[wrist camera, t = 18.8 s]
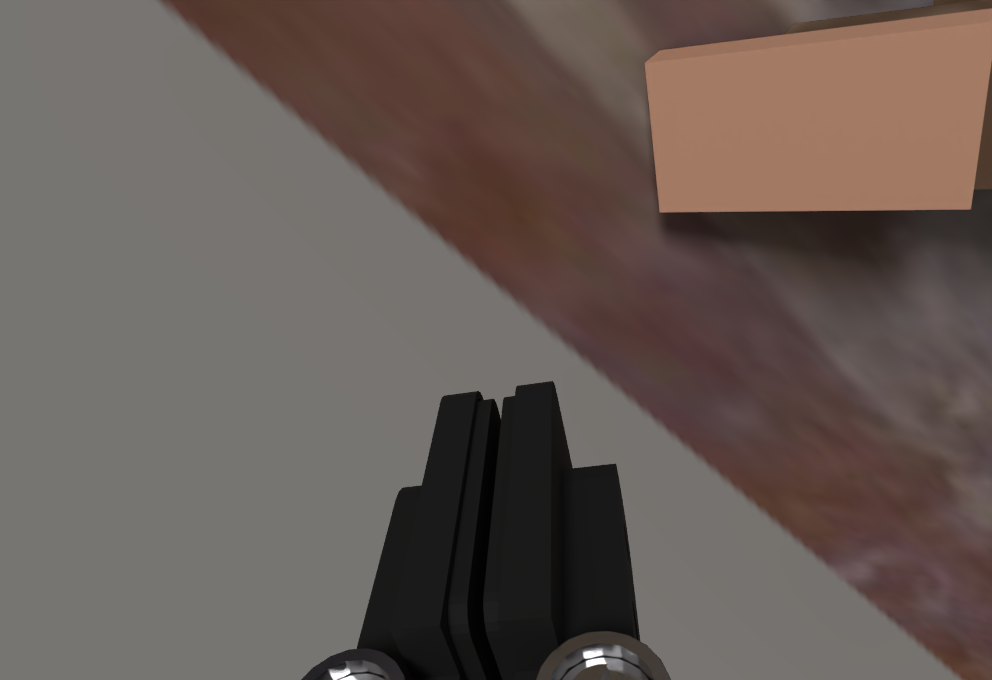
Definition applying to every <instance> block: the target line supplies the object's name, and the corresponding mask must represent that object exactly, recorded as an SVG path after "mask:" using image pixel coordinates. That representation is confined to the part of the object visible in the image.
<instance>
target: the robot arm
mask: <svg viewBox="0 0 992 680" xmlns="http://www.w3.org/2000/svg"><path fill="white" fill-rule="evenodd" d="M301 680H671V679H670V677H669V675H668V673H667V671H666V669H665V667H664V665H663V663H662V661H661V659H660V658H659V657H658V656H657V655H656V654H655V653H654V652H653V651H652V650H651V649H650V648H649V647H648V646H647V645H645V644H643V643H642V642H640V635H639V627H638V619H637V610H636V601H635V592H634V584H633V575H632V567H631V558H630V550H629V542H628V535H627V528H626V521H625V514H624V508H623V501H622V495H621V489H620V484H619V477H618V472H617V466H616V464H609V465H600V466H591V467H582V468H574V469H573V468H572V464H571V459H570V454H569V449H568V445H567V440H566V435H565V430H564V426H563V421H562V416H561V412H560V407H559V402H558V397H557V393H556V388H555V385H554V382H553V381H551V382H543V383H535V384H529V385H521V386H517V387H516V392H515V396H512V397H505V398H504V400H503V407H502V417H501V419H500V415H499V411H498V407H497V404H496V402H495V400H494V399H489V400H483V397H482V395H481V393H480V392H479V391H477V392H469V393H462V394H454V395H447V396H443V397H442V399H441V402H440V407H439V411H438V416H437V420H436V425H435V429H434V434H433V438H432V443H431V448H430V452H429V456H428V461H427V465H426V469H425V474H424V479H423V483H422V486H414V487H405V488H402V489H401V490H400V491H399V493H398V495H397V498H396V501H395V505H394V508H393V512H392V516H391V520H390V524H389V527H388V532H387V535H386V539H385V543H384V547H383V550H382V554H381V558H380V562H379V565H378V570H377V573H376V577H375V581H374V585H373V589H372V592H371V596H370V600H369V604H368V608H367V611H366V615H365V619H364V623H363V627H362V630H361V634H360V638H359V642H358V646H357V649H352V650H347V651H344V652H341V653H338V654H336V655H333V656H330V657H329V658H327V659H326V660H324V661H323V662H321V663H320V664H318V665H317V666H315V667H313V668H312V669H311V670H310V671H309V672H308V673H307V674H306V675H305V676H304V677H303V678H302V679H301Z"/></svg>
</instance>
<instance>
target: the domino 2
mask: <svg viewBox="0 0 992 680" xmlns="http://www.w3.org/2000/svg"><path fill="white" fill-rule="evenodd" d="M990 8H992V0H976V1H968V2H961V3H953V4H945V5H937V6H929V7H921V8H913V9H905V10H898V11H890V12H882V13H874V14H866V15H858V16H850V17H842V18H834V19H827V20H819V21H811V22H803V23H795V24H793V25H792V26H791V28H790V29H789V30H788V31H787V32H786V33H785V34H793V33H801V32H809V31H817V30H825V29H833V28H841V27H848V26H856V25H864V24H872V23H880V22H888V21H896V20H904V19H911V18H919V17H927V16H935V15H943V14H951V13H959V12H967V11H975V10H982V9H990ZM785 34H784V35H785ZM979 189H992V62H991V70H990V77H989V84H988V91H987V98H986V105H985V112H984V120H983V127H982V134H981V141H980V148H979V155H978V163H977V170H976V177H975V184H974V190H979Z"/></svg>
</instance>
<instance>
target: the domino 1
mask: <svg viewBox="0 0 992 680" xmlns="http://www.w3.org/2000/svg"><path fill="white" fill-rule="evenodd" d="M991 62H992V8H990V9H982V10H975V11H967V12H959V13H951V14H943V15H935V16H927V17H919V18H911V19H904V20H896V21H888V22H880V23H872V24H864V25H856V26H848V27H841V28H833V29H825V30H817V31H809V32H801V33H793V34H785V35H777V36H770V37H762V38H754V39H746V40H738V41H730V42H722V43H714V44H707V45H699V46H691V47H683V48H675V49H667V50H660V51H659V52H657V53H656V54H655V55H654V56H653V57H651V58H650V59H649V60H648V61H647V62H646V63H645V70H646V80H647V90H648V100H649V110H650V120H651V130H652V140H653V150H654V160H655V170H656V180H657V190H658V200H659V210H660V212H752V211H861V210H969V209H971V205H972V198H973V191H974V184H975V177H976V170H977V163H978V155H979V148H980V141H981V134H982V127H983V120H984V112H985V105H986V98H987V91H988V84H989V77H990V70H991Z"/></svg>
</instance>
